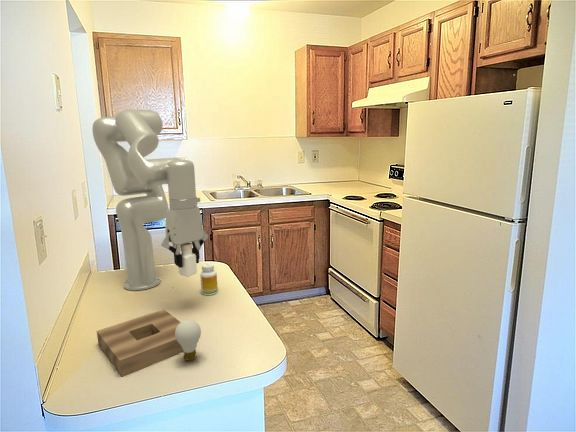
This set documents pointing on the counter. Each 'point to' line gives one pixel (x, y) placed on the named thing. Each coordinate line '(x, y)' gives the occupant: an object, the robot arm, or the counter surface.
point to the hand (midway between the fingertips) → (187, 263)
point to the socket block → (140, 341)
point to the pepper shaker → (188, 260)
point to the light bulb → (188, 337)
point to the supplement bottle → (208, 280)
